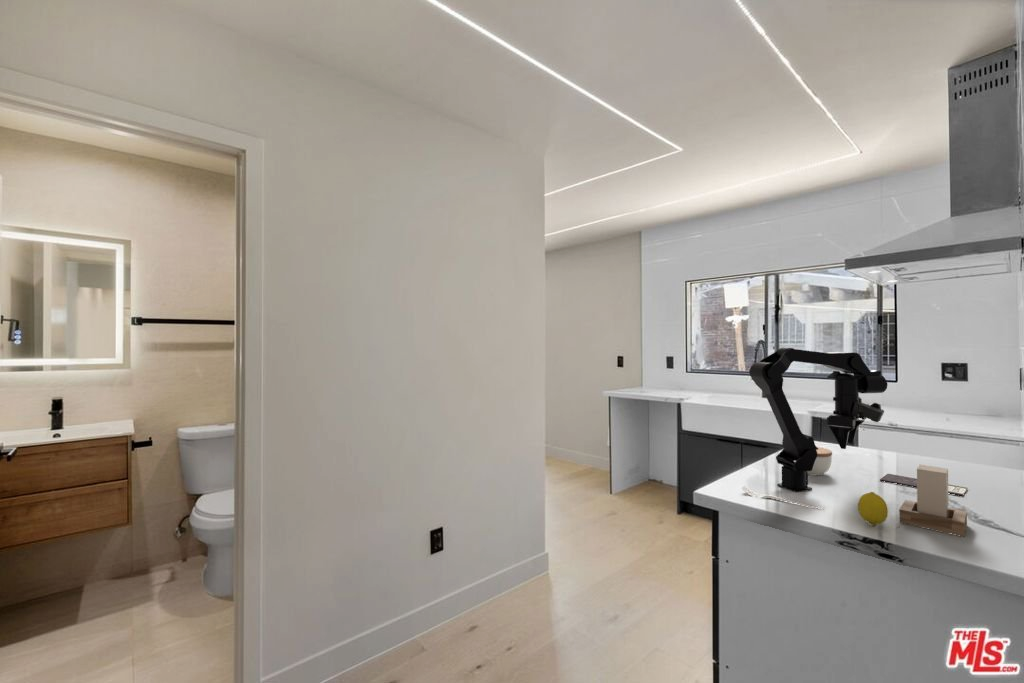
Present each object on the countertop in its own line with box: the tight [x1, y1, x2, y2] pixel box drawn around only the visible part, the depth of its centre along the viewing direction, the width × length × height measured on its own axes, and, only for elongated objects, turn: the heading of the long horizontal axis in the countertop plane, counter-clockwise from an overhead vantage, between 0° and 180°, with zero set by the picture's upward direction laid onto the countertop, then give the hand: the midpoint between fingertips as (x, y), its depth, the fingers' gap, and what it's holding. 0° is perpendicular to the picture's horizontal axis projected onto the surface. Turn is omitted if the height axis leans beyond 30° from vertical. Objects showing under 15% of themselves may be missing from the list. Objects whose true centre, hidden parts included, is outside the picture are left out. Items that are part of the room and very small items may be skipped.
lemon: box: [857, 491, 889, 527], centre depth 106 cm, size 6×6×8 cm
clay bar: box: [916, 464, 949, 518], centre depth 107 cm, size 5×5×12 cm
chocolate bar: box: [879, 473, 968, 497], centre depth 133 cm, size 9×1×18 cm
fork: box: [741, 486, 821, 510], centre depth 123 cm, size 3×20×2 cm, turn 45°
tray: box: [899, 499, 968, 538], centre depth 107 cm, size 9×11×3 cm
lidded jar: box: [794, 446, 833, 477], centre depth 147 cm, size 11×11×9 cm
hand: (847, 445), depth 134 cm, fingers open, 9 cm apart
